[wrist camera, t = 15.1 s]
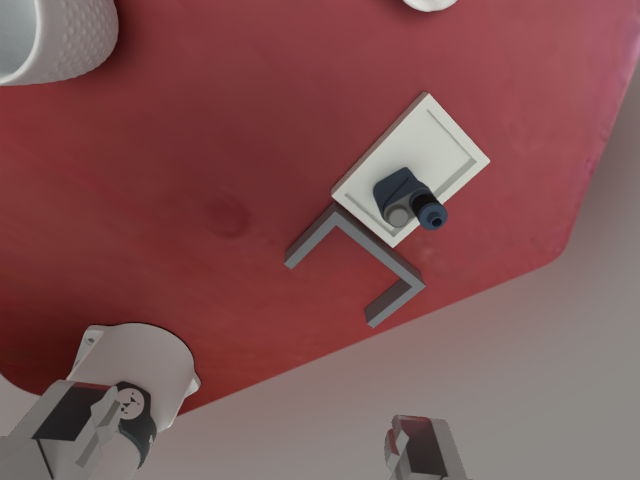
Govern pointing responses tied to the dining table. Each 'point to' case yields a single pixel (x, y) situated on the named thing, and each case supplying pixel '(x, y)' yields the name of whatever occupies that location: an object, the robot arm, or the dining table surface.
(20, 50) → the mug
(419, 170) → the tray
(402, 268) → the bay
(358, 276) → the dining table surface
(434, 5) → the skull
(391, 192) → the vaping device
